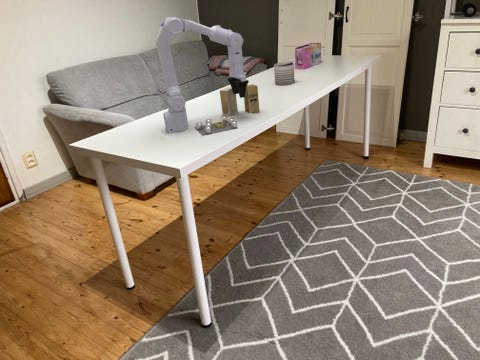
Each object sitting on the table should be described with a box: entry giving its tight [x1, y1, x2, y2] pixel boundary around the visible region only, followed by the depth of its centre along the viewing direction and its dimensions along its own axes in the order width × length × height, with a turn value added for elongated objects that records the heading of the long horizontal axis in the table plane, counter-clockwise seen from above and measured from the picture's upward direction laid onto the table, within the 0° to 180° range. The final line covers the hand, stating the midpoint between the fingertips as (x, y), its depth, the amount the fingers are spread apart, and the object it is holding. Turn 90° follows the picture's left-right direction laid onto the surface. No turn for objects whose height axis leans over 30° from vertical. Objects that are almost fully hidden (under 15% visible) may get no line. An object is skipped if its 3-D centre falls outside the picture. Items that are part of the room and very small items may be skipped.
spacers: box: [195, 115, 239, 135], centre depth 160 cm, size 15×12×2 cm
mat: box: [193, 119, 239, 137], centre depth 161 cm, size 15×13×1 cm
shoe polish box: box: [243, 84, 260, 115], centre depth 177 cm, size 5×5×12 cm
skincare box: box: [219, 86, 239, 117], centre depth 175 cm, size 6×4×12 cm
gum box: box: [294, 42, 322, 70], centre depth 265 cm, size 24×8×14 cm, turn 141°
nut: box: [214, 120, 226, 129], centre depth 161 cm, size 4×5×2 cm
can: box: [273, 60, 296, 87], centre depth 223 cm, size 11×11×12 cm
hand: (239, 95), depth 168 cm, fingers open, 7 cm apart
